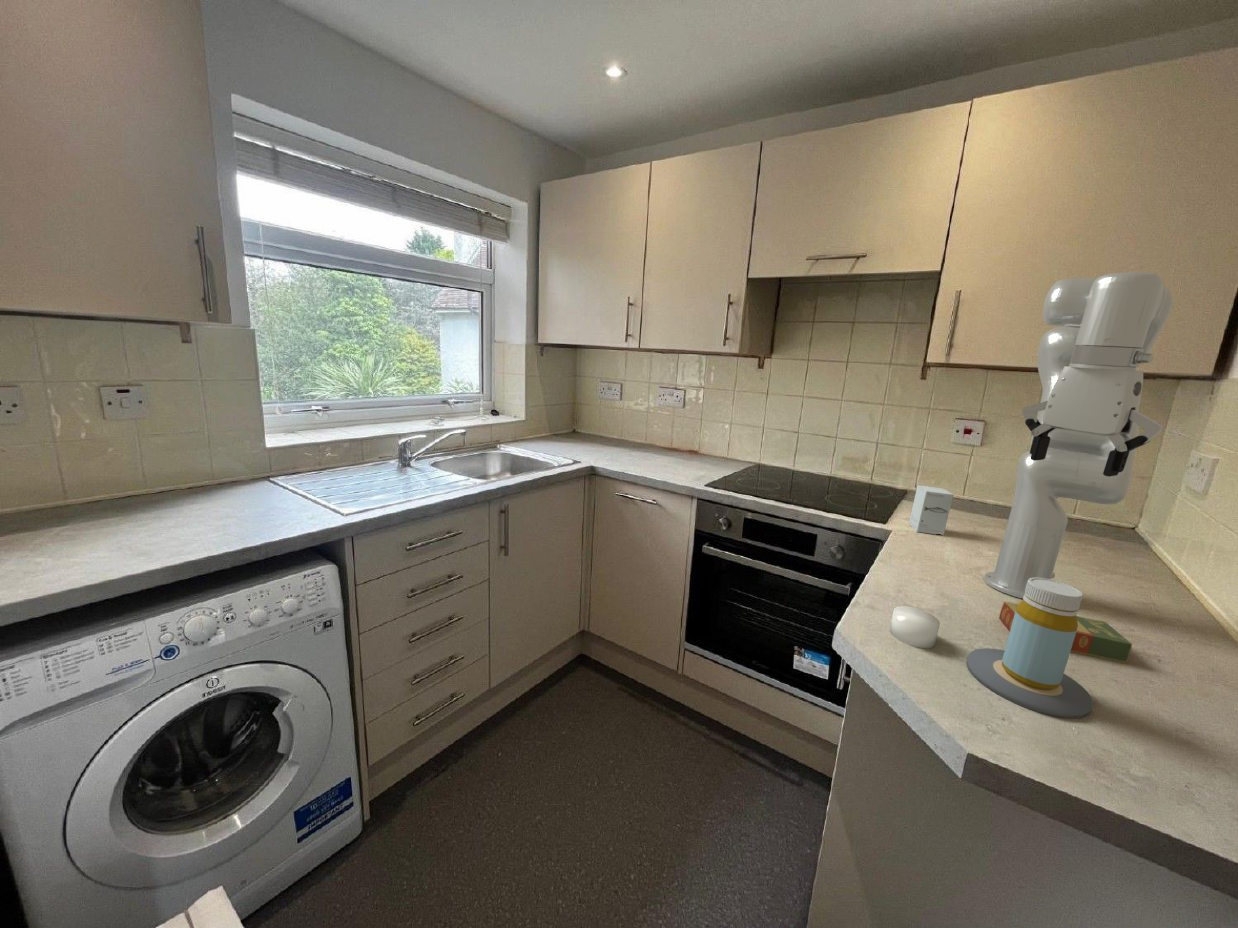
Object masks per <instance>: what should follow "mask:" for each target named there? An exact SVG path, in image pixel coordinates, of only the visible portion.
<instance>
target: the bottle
mask: <svg viewBox="0 0 1238 928" xmlns="http://www.w3.org/2000/svg"><path fill="white" fill-rule="evenodd" d="M1083 595H1084V594H1083V592H1082V591H1080V589H1078V588H1076V587H1075V586H1074V587H1073V586H1071V585H1070V584H1067V583H1064V582H1061V581H1056V580H1054V579H1051V580H1050V579H1045V578H1037V577H1034V578H1029V580H1028V582H1027V585H1026V589H1025V594H1024V597H1023V599H1022V600H1021V601H1020V602H1019V603H1017V604H1018V606H1017V609H1016V611H1015V615H1014V619H1013V622H1012V626H1011V630H1010V632H1009V635H1008V638H1007V641H1006V645H1005V649H1004V651H1005V652H1004V655H1003V660H1002V666H1003V668H1004V670H1005V671H1006V673H1007V674H1008V675H1009V676H1010V677H1012V678H1013V679H1015V680H1016V681H1018V682H1020V683H1022V684H1024V685H1027V686H1030V687H1033V688H1037V689H1040V690H1052V689H1055V688H1058V687H1059V686H1060V683H1061V681H1062V677H1063V674H1065V671H1066V667H1067V664H1068V660H1069V657H1070V653H1071V648H1072V645H1073V641H1074V638H1075V635H1076V631H1077V627H1078V623H1077V617H1076V616H1078V611H1079V609H1080V606H1081V603H1082V599H1083V597H1084V596H1083Z"/></svg>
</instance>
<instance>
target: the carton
mask: <svg viewBox="0 0 1238 928" xmlns="http://www.w3.org/2000/svg"><path fill="white" fill-rule="evenodd" d="M1018 604H1019V603H1013V602H1009V601H1003V604H1002V607H1001V609H1000V612H999V617H998V619H999V620H1000V621H1001V624H1003V626H1004V627H1005V628H1006V629H1007V631H1008V632H1009V633H1010V630H1011V626H1012V622H1013V619H1014V615H1015V611H1016V609H1017V606H1018ZM1076 617H1077V623H1078V627H1077V631H1076V635H1075V638H1074V641H1073V645H1072V648H1071V651H1070V653H1071V652H1072V653H1076V654H1081V655H1085V656H1090V657H1094V658H1095V657H1096V658H1099V659H1105V660H1108V661H1112V662H1118V663H1121V664H1128V663H1129V659H1130V656H1131V651H1132V645H1133V644H1132V642H1131V641H1129V640H1128V639H1127V638H1125V636H1123V635H1122V634H1121V633H1119V632H1118V631H1117V630H1115V628H1113V626H1111V625H1110V624H1109V623H1107V621H1103V620H1097V619H1094V618H1087V617H1083V616H1078V615H1076Z"/></svg>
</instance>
